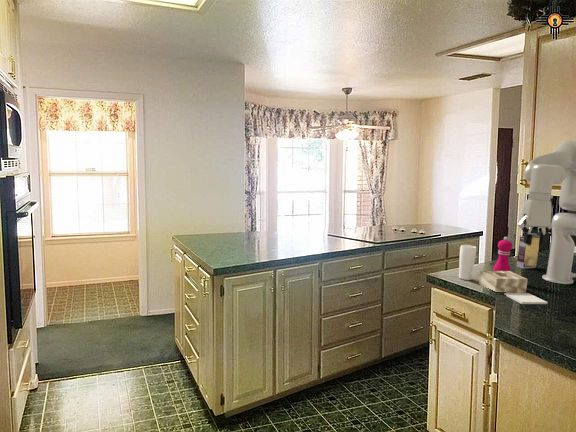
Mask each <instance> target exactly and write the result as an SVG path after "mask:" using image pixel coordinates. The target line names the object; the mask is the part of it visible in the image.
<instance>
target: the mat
mask: <svg viewBox="0 0 576 432" xmlns="http://www.w3.org/2000/svg"><path fill="white" fill-rule="evenodd" d="M503 294H504V296H505V295H506V296H505V297H507V298H510V299H511V300H513V301H515V302H517V303H519V304H521V305H548V303H549V302H548V301H546V300H544V299H542V298H539V297H537V296H536V295H533V294H531V293H529V292H526V293H503Z"/></svg>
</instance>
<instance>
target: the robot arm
mask: <svg viewBox="0 0 576 432" xmlns="http://www.w3.org/2000/svg"><path fill="white" fill-rule="evenodd" d="M523 173H524V174H523V176H524V179H525V180H526V181H527V182H528V183H529V190H528V196H527V197H528V198H527V199H525V201H524V204H523V208H522V211H521V215H520V221H519V222H518V223H517V227H518V228H520V229H521V230H522V233H523V234H524V235H523V236H524V243H525V244H528V245H530V244H531V236H532V235H531V234H530V233H532V230H533V228H534V227H535V228H537V233H536V234H539V235H541V236H540V243H539V246H542V245H543V242H544V238H545V237H544V236H545V235H546V233H548V232H549V230H551V242H550V248H549V255H548V261H547V269H546V274H543V275H542V277H541V278H542V279H543V280H545V281H547V282H550V283H555V284H561V285H572V284H573V283H574V279H575V278H576V273H573V272H572V266H573V261H574V253H575V249H576V244H575V242H574V240H573V238H572V236H575V237H576V213H571V212H570V213H569V212H557V213H555V214H554V215H553V216H552V201H551V199H553V198H554V195H553V194H552V189H553V185H560V184H561V187H560V191H559V200H558V205H559V207H560V209H563V210H566V211H572V212H576V139H568V140H564V141H562V142H561V143H560V144H559V145H558V146H557V147H556V148H555V149H554V150H553V152H549V153H545V154H542V155H539V156H536V157H534V158H532V159H531V160H530V162H529V163H528V164H527V166H526V167H525V170H524V172H523Z"/></svg>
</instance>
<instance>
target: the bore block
mask: <svg viewBox="0 0 576 432" xmlns="http://www.w3.org/2000/svg"><path fill="white" fill-rule="evenodd" d="M478 279H479V280H478V285H479V284H480V285H479V286H481V285H482V286H481V287H483V286H484V287H483V288H485V287H486V288H485V289H487V288H489V289H491V290H493V291H495V292H506V293H527V286H528V280H529V279H528V278H526V277H523V276H522V275H519V274H518V273H514V272H513V271H511V272H510V271H493V270H479V277H478ZM489 289H488V290H489Z"/></svg>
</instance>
